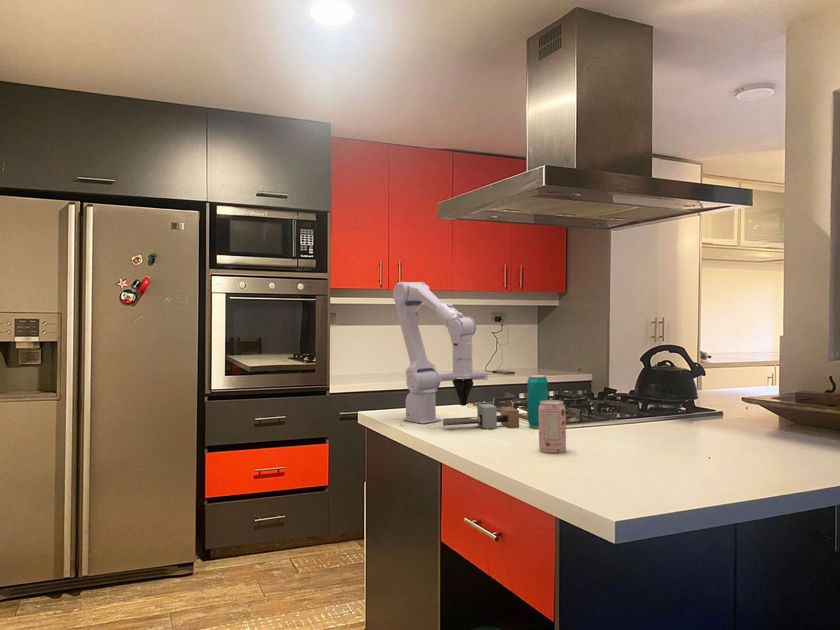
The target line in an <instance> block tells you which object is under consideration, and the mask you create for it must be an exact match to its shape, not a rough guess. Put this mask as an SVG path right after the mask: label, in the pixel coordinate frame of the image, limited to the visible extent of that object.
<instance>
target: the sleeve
mask: <svg viewBox="0 0 840 630" xmlns="http://www.w3.org/2000/svg"><path fill="white" fill-rule="evenodd" d="M476 405H477V406H476V407H477V413H476V414H477V417H478V416H480V417H481V416H482V423H480V424H477V426H479V427H481V429H482V428H483V429H487V428H492V429H496V428H498V422H497V416H498V414H497V406H496V405H494V404H492V403H482V404H481V403H479V404H476Z"/></svg>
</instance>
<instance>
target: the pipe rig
mask: <svg viewBox="0 0 840 630" xmlns="http://www.w3.org/2000/svg"><path fill="white" fill-rule="evenodd" d="M480 423H482V416H481V417H480V416H478V415H477V416H469V417H468V416H466V417H448V418H442V425H443V426H444V427H445V426H460V425H462V426H463V425H475V424H477V425H478V424H480ZM497 423H500V424H501V425H502V426H504V427H506V428H508V429H517V428H520V411H519V409H517V408H515V407H512V406H501V407H500V415H498V414H497ZM486 429H487V430H489V431H493V430H494V428H486Z"/></svg>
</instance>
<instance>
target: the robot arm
mask: <svg viewBox="0 0 840 630" xmlns="http://www.w3.org/2000/svg"><path fill="white" fill-rule="evenodd" d="M392 296H393V300H394V303H395V307H396V311H397V312H396V313H397V317H398V320H399V325H400V328H401V332H402V336H403V340H404V345H405V348H406V351H407V356H408V358H409V361H410V362H409V366H408V367H407V368H406V370H405V375H406V387H407V389H408V391H409V393H408V394H407V395H406V397H405V418H403V421H408V422H411V423H418V424H423V425H424V424H429V423H435V422H441V421H443V418H439V417H436V416H437V415H436V413H437V412H436V411H437V410H436V407H437V405H436V404H437V403H436V392H438V389H439V388H440V385H441V383H442V382H449V381H450V382H452V384H453V386H454V389H455V390H456V393H457V397H458V400H459V401H458V402H459V405H460V406H461V407H462V406H463V407H466V406H467V402H468V398H469V396H470V395H469V394H470V392H471V390H472V388H473V386H474V381H480V380H481V381H482V380H484V381H485V380H486V381H487V380H488V378H489V376H488V373H487V372H473V336H474V335H475V333H476V331H477V324H476V321H475V320H474V319H473V317H471V316H464V314H463V312H459V310H457V309H456V308H455V307H454V305H453V303H449V302H444V303H443V302H442V301H441V300H440V299H439V298H438V297H437V296H436V295H435V294H434V293H433V292H432V291H431V290H430V286H429V285H427V284H426V283H425V282H424V281H417V282H416V281H415V282H414V281H410V282H409V281H407V282H406V281H398V282H397V283H396V284H395V286H394V288H393V292H392ZM423 304H424V305H425V306H427V307H428V308H430V310H432V311H433V312H435V313H434V314H435V318H436V319H437V320H438V321H439V322H440V323H441V324H443V325H444V326H445V327H446V328H447V332H448V334H449V336H450V342H451V345H452V373H439V372H438V371H437V369H436V365H435V364H434V363H432V362H431V361H429V360H428V357H427V354H426V353H427V352H426V350H425V346H424V342H423V337H422V335H421V334H422V333H421V332H420V328H419V323H418V319H417V317H416V313H417V311H418V310H420V308H421V307H422V305H423Z"/></svg>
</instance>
